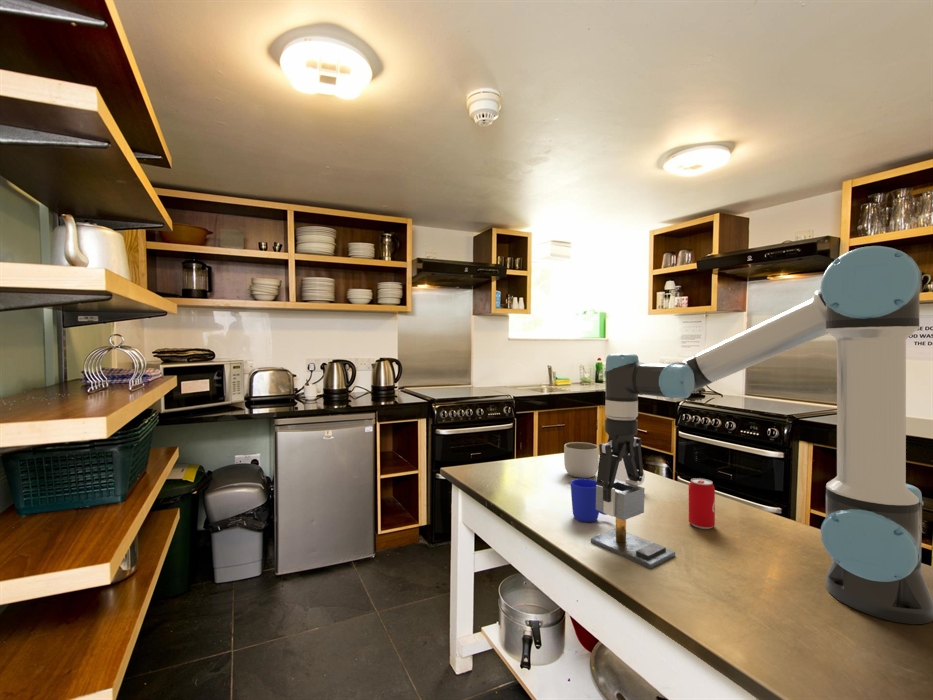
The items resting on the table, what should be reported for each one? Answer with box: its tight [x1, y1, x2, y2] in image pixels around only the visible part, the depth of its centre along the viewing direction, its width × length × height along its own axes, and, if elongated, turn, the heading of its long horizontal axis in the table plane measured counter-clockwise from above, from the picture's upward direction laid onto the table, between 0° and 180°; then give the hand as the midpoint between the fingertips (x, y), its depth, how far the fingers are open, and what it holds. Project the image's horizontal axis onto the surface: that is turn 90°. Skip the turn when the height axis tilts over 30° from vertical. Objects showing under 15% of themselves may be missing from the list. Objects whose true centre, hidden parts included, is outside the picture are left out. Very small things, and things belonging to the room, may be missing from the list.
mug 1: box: [570, 478, 608, 523], centre depth 124 cm, size 8×12×10 cm
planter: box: [563, 441, 600, 479], centre depth 165 cm, size 12×12×11 cm
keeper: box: [590, 517, 676, 570], centre depth 106 cm, size 16×10×10 cm, turn 36°
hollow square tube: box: [596, 479, 646, 521], centre depth 109 cm, size 8×8×6 cm
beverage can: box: [688, 477, 716, 530], centre depth 119 cm, size 6×6×12 cm
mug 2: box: [615, 456, 646, 486], centre depth 151 cm, size 12×8×10 cm
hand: (620, 510), depth 109 cm, fingers closed on hollow square tube, 8 cm apart
